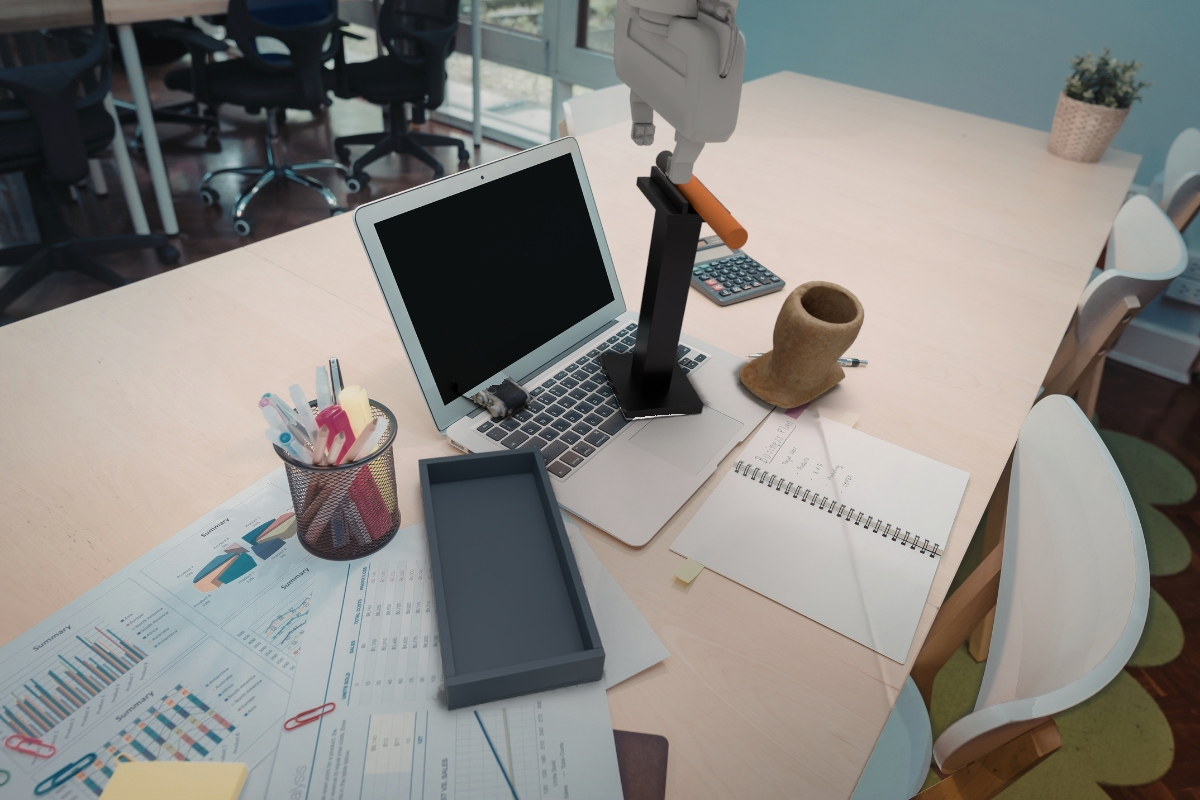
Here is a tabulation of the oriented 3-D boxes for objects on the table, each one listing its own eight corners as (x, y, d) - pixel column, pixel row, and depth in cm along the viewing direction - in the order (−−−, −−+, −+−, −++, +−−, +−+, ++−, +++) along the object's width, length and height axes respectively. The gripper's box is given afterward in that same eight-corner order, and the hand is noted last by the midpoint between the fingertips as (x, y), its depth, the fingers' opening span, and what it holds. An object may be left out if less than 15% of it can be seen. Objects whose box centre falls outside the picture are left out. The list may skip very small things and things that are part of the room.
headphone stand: (701, 413, 90) (751, 205, 74) (625, 421, 88) (658, 207, 71) (668, 358, 99) (706, 162, 83) (598, 364, 97) (622, 162, 80)
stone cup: (795, 431, 89) (830, 328, 80) (724, 382, 96) (749, 281, 87) (865, 391, 98) (904, 293, 89) (795, 348, 104) (825, 253, 95)
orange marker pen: (741, 252, 68) (752, 230, 67) (722, 247, 67) (732, 225, 66) (669, 171, 83) (676, 153, 82) (652, 166, 82) (660, 147, 81)
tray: (601, 679, 61) (605, 655, 58) (448, 711, 57) (446, 686, 55) (538, 469, 80) (539, 445, 77) (419, 483, 76) (418, 459, 74)
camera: (500, 425, 85) (500, 397, 82) (445, 384, 90) (444, 356, 87) (532, 408, 88) (534, 380, 85) (477, 369, 93) (477, 341, 90)
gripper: (782, 11, 49) (739, 206, 57) (675, -34, 65) (654, 125, 73) (696, 6, 47) (665, 208, 56) (607, -39, 63) (593, 125, 71)
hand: (658, 161), depth 64 cm, fingers open, 8 cm apart
